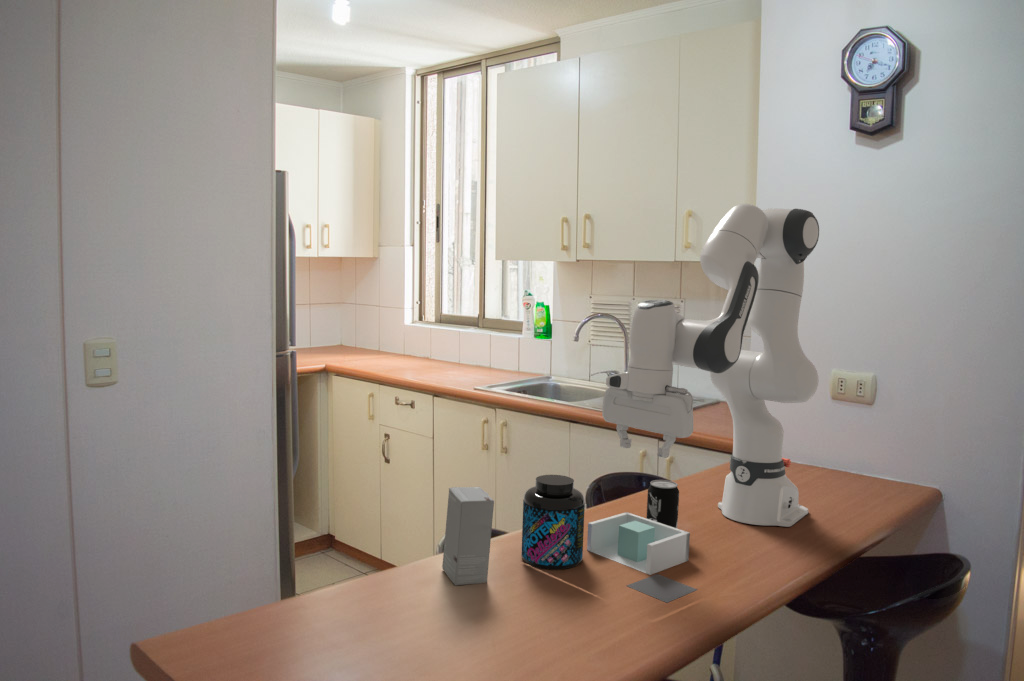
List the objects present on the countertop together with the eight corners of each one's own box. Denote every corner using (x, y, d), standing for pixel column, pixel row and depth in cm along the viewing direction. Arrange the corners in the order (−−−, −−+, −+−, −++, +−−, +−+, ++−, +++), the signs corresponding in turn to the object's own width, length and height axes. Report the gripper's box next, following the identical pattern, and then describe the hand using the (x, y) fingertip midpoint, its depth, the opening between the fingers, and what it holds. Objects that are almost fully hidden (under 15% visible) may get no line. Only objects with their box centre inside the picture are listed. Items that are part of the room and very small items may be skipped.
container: (560, 577, 144) (563, 492, 142) (509, 561, 151) (511, 480, 149) (593, 559, 153) (596, 479, 152) (543, 545, 160) (546, 468, 159)
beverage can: (676, 544, 163) (679, 488, 162) (645, 541, 165) (647, 486, 163) (676, 534, 170) (679, 480, 169) (646, 531, 171) (648, 478, 170)
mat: (657, 575, 146) (657, 573, 146) (697, 591, 140) (697, 589, 140) (626, 587, 140) (626, 585, 140) (666, 604, 134) (666, 602, 134)
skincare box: (441, 569, 146) (443, 487, 144) (477, 565, 148) (480, 484, 147) (454, 587, 138) (457, 500, 136) (492, 582, 141) (495, 497, 139)
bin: (625, 539, 165) (626, 512, 165) (688, 562, 154) (689, 532, 153) (586, 551, 157) (588, 523, 157) (650, 576, 146) (651, 545, 145)
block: (633, 549, 159) (635, 520, 158) (653, 556, 155) (654, 527, 154) (617, 554, 155) (618, 525, 155) (637, 562, 152) (638, 532, 151)
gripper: (703, 389, 147) (697, 461, 148) (620, 375, 163) (615, 441, 163) (683, 390, 143) (677, 464, 144) (599, 376, 158) (595, 443, 159)
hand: (643, 452), depth 154 cm, fingers open, 8 cm apart
